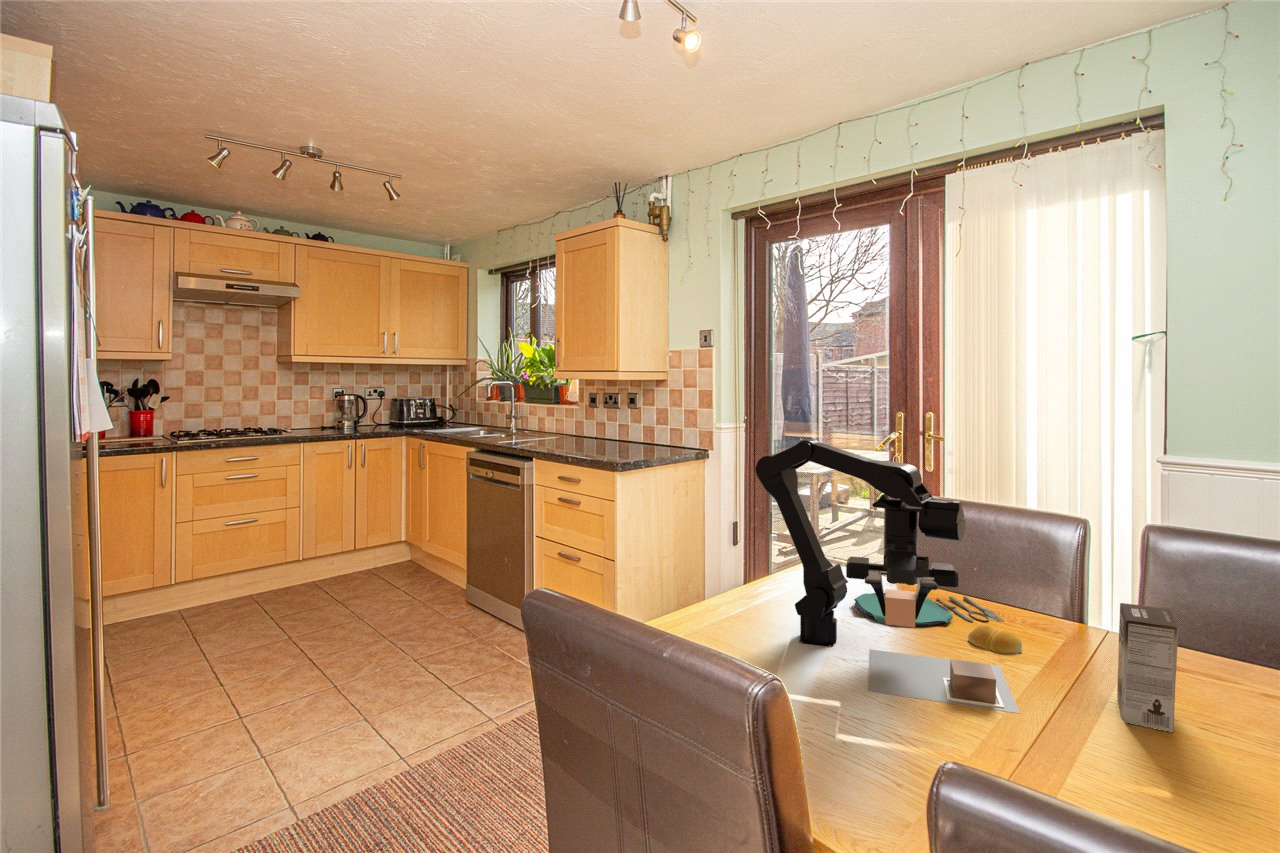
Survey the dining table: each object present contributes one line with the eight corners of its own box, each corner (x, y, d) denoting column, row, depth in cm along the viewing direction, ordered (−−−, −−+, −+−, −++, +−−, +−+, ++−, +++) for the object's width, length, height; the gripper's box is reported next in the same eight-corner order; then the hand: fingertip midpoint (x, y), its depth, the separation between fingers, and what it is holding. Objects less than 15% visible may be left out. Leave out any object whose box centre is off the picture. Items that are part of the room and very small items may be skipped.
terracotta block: (885, 624, 116) (885, 597, 116) (885, 615, 121) (885, 589, 121) (915, 627, 115) (915, 600, 114) (913, 618, 119) (914, 591, 119)
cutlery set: (841, 600, 153) (842, 591, 153) (963, 599, 155) (964, 590, 155) (876, 633, 134) (876, 622, 133) (1015, 632, 135) (1016, 621, 135)
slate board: (868, 694, 106) (868, 689, 106) (869, 652, 123) (869, 648, 123) (1019, 717, 98) (1019, 712, 98) (999, 668, 115) (999, 664, 115)
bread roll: (1013, 661, 119) (1013, 640, 119) (963, 646, 126) (963, 626, 126) (1029, 648, 125) (1029, 628, 124) (980, 635, 131) (980, 616, 131)
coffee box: (1115, 697, 104) (1118, 601, 103) (1165, 707, 101) (1169, 608, 100) (1121, 723, 97) (1125, 618, 96) (1176, 734, 93) (1180, 626, 92)
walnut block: (953, 698, 103) (954, 673, 103) (949, 682, 109) (950, 659, 109) (995, 704, 101) (996, 679, 101) (989, 687, 107) (990, 664, 107)
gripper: (844, 539, 113) (844, 626, 114) (962, 547, 106) (961, 639, 107) (847, 526, 123) (847, 606, 124) (955, 533, 117) (954, 617, 117)
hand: (899, 617), depth 118 cm, fingers closed on terracotta block, 5 cm apart
